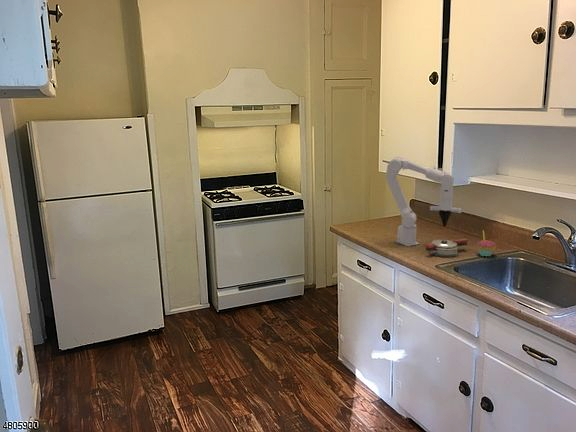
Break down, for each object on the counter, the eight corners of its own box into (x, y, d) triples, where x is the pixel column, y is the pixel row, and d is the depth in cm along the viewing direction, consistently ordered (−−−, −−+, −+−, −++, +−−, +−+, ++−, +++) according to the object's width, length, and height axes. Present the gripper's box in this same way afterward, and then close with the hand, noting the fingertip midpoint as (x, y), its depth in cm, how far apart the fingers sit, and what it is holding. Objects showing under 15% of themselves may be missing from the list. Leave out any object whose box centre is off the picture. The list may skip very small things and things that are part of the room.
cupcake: (472, 255, 225) (474, 230, 222) (480, 251, 231) (482, 226, 228) (490, 259, 219) (492, 233, 216) (498, 254, 225) (500, 229, 222)
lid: (434, 250, 219) (435, 246, 219) (419, 244, 229) (419, 240, 229) (474, 244, 227) (474, 240, 227) (458, 238, 237) (458, 235, 237)
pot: (418, 252, 230) (418, 244, 230) (455, 246, 239) (455, 238, 239) (436, 260, 219) (437, 251, 218) (474, 253, 228) (475, 244, 227)
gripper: (428, 198, 235) (427, 226, 238) (460, 201, 227) (458, 229, 231) (432, 196, 241) (431, 222, 244) (463, 198, 233) (461, 226, 236)
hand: (444, 225), depth 238 cm, fingers closed
